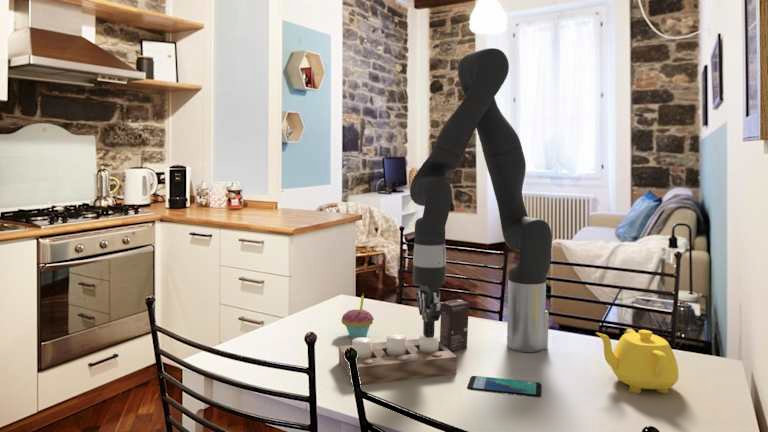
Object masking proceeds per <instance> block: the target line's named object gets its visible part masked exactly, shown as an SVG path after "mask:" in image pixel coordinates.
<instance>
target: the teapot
mask: <svg viewBox="0 0 768 432" xmlns="http://www.w3.org/2000/svg"><path fill="white" fill-rule="evenodd" d="M595 334H596V335H598V337H600V338H601V340H602V343H603V354H604V359H605V361H606V363H607V364H608V365H609V366H610V367H611V369H612V372H613V374H614V375H615V377H616V378H617V380H618V381H620V382H622V383H624V384H626V385H628V386H629V387H628V391H629V392H630V393H633V394H640V393H642V389H645V390H656V392H658V393H661V394H669V393H670V390H669V389H670V388H671V389H672V387H673V386H675V384H677V382H678V380H679V377H680V376H679V367H678V363H677V359H676V357H675V354H674V352H673V350H672V349H673V348H672V347H671V345H670V344H669V342H668V341H667V340H666V339H665V338H663V337H661V336H659V335H657V334H653V332H652V330H651V331H650V330H647V329H639V330H638V332H637V331H635V329H632V328H627V329H626V330H625V333H624V334H622V335H621V337H620V338H619V340H618V342H617V343H616V345H615V347H614V349H613V348H612V342H611V339H610V337H609V336H608V335H607V334H604V333H600V332H595Z"/></svg>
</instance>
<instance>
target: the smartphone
mask: <svg viewBox="0 0 768 432" xmlns="http://www.w3.org/2000/svg"><path fill="white" fill-rule="evenodd" d="M469 378H470V379H469V380H468V384H467V387H466V389H467V390H471V391H477V392H478V391H479V392H480V391H481V392H488V393H489V392H490V393H496V392H497V393H498V394H504V393H508V394H507V395H514V394H516V395H515V396H522V395H525V397H531V396H532V398H533V397H534V398H541V397H542V383H540V382H539V381H538V382H537V381H529V380H520V379H519V380H518V379H517V380H516V379H512V378H511V379H510V378H498V377H489V376H479V375H471V377H469ZM497 393H496V394H497Z"/></svg>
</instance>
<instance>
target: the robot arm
mask: <svg viewBox="0 0 768 432" xmlns="http://www.w3.org/2000/svg"><path fill="white" fill-rule="evenodd" d="M509 68H510V65H509V59H508V57H507V55H506V53H504V52H503V50H501V49H499V48H497V47H486V48H483V49H480V50H477V51H474V52H470V53H468V54H466V55H464V56H463V57H462V58H461V59H460V61H459V64H458V67H457V76H458V77H457V78H458V81H459V84H460V87H461V90H462V92H463V94H464V98H463V100H462V101H461V102H460V104H459V105H458V107H457V108H456V109H455V111H454V112H453V113H452V114H451V115H450V117H449V118H448V119H447V120H446V122H445V123H444V125H443V126H442V127H441V130H440V132H439V134H438V136H437V137H436V140H435V142H434V144H433V146H432V149H431V152H430V154H429V156H428V157H427V158H426V159H425V161H424V162H423V163H422V164H421V166H420V168H419V169H418V170H417V172H416V173H415V175H414V176H413V178H412V181H411V184H410V187H409V196H410V199H411V200H412V201H413V203H414V204H416V205H418V206H422V207H423V212H422V217H419V218H417V219H416V221H415V224H414V246H413V252H412V253H413V256H412V257H413V262H412V263H413V266H412V268H413V269H412V282H413V284H415V285H417V286H419V290H418V291H416V292H415V298H416V302H417V307H418V308H417V309H418V311H419V312H418V313H419V315H420V316H421V319H422V322H423V326H422V327H423V328H422V329H423V330H422V331H423V332H422V334H423V335H424V336H425V337H426V338H429V337H434V334H435V322H437V321H440V319H441V313H442V310H443V308H444V304H443V302H444V301H441V302H442V303H441V302H440V299H441V292H440V288H439V287H441V286H443V285H444V284H446V282H447V281H446V280H447V249H446V224H447V222H448V217H449V214H450V210H451V207H452V201H453V189H452V186H451V183H450V182H449V181H448V179H447V178H445V177H446V176H447V175H448V174H450V173H452V172H453V173H454V171H456V170H457V169H458V167H459V165H460V164H461V161H462V159H463V157H464V155H465V152H466V151H467V147H468V145H469V143H470V141H471V138H472V136H473V134H474V132H475V130H476V131H477V135H478V138H479V141H480V144H481V148H482V154H483V157H484V161H485V164H486V169H487V171H488V174H489V177H490V181H491V184H492V185H491V186H492V188H493V192H494V196H495V200H496V203H497V208H498V209H497V210H498V213H499V219H500V226H501V233H502V237H503V240H504V243H505V245H506V246H507V248H509V249H511V250H512V251H514V252H517V253H519V256H518V263H517V265H516V266H512V267H510V268H509V270H508V280H507V282H508V287H507V288H508V289H507V294H508V295H507V326H506V327H507V333H506V335H507V336H506V346H507V347H508V348H509V349H511V350H514V351H517V352H523V353H537V352H541V351H543V350H545V349H548V348H549V347H548V346H549V343H548V342H549V320H550V319H549V316H550V315H549V311H548V310H546V301H547V300H546V299H547V296H546V295H547V291H546V290H547V277H548V276H547V275H548V273H549V271H550V268H551V258H552V257H551V256H552V246H553V238H552V237H553V236H552V229H551V227H550V225H549V223H547V222H546V221H545V220H544V219H541V218H537V217H531V216H529V214H528V212H527V209H526V207H525V206H526V205H525V203H524V199H523V187H524V186H523V185H524V180H525V177H526V176H525V175H526V170H527V164H526V163H527V162H526V158H525V155H524V154H525V153H524V150H523V147H522V143H521V140H520V138H519V135H518V134H517V132H516V130H515V129H514V127H513V126H512V125H511V124H510V122H509V121H508V120H507V118H506V117H505V116H504V115H503V113H502V112H501V110H500V108H499V106H498V104H497V100H496V98H495V97H496V95H497V93H498V92H499V91H500V89H501V88H502V86H503V85H504V83H505V81H506V80H507V78H508V74H509V72H510V71H509V70H510V69H509Z"/></svg>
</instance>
